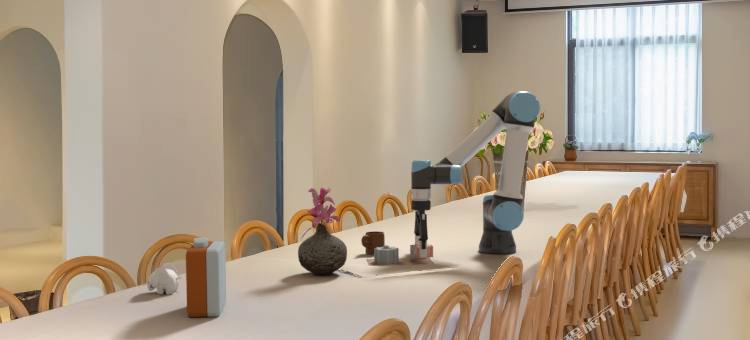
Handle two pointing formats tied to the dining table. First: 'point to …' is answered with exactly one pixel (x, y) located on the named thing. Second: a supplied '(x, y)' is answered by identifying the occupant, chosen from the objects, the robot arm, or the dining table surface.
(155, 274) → the elephant figurine
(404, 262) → the gear board
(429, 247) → the gear
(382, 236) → the mug
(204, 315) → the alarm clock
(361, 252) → the dining table surface
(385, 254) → the gear
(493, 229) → the robot arm
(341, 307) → the dining table surface
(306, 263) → the vase
